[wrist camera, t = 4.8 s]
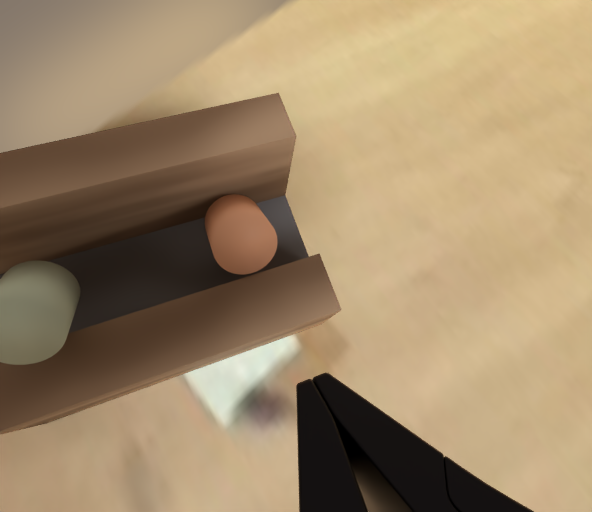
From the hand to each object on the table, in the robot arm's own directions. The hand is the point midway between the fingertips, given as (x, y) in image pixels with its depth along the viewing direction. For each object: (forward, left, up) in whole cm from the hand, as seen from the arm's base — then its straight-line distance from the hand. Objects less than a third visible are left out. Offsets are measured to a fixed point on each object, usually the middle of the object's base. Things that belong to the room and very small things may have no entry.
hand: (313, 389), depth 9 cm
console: (+2, +8, -13) cm, 15 cm away
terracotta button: (+5, +5, -9) cm, 12 cm away
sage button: (-2, +11, -8) cm, 14 cm away
